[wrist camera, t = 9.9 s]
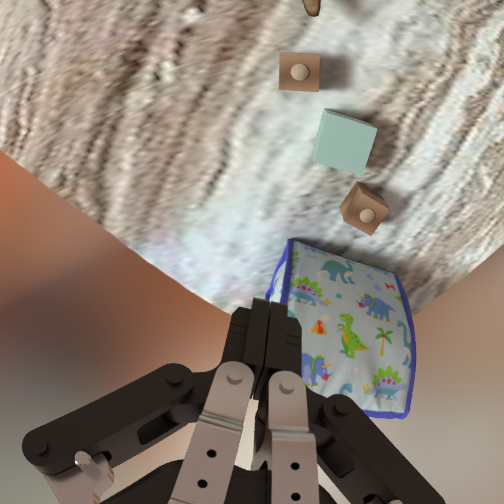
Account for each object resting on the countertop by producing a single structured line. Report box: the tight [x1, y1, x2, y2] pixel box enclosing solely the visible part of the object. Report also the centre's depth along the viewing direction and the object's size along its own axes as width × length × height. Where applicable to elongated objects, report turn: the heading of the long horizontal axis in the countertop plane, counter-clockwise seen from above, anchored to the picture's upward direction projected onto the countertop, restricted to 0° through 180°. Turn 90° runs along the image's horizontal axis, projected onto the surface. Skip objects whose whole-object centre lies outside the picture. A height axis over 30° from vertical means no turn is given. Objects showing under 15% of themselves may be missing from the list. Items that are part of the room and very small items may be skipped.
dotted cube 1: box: [340, 182, 390, 236], centre depth 47 cm, size 5×5×5 cm
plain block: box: [312, 109, 378, 176], centre depth 42 cm, size 7×7×5 cm
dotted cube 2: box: [279, 53, 320, 92], centre depth 38 cm, size 5×5×5 cm
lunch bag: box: [265, 239, 416, 419], centre depth 47 cm, size 22×17×26 cm
